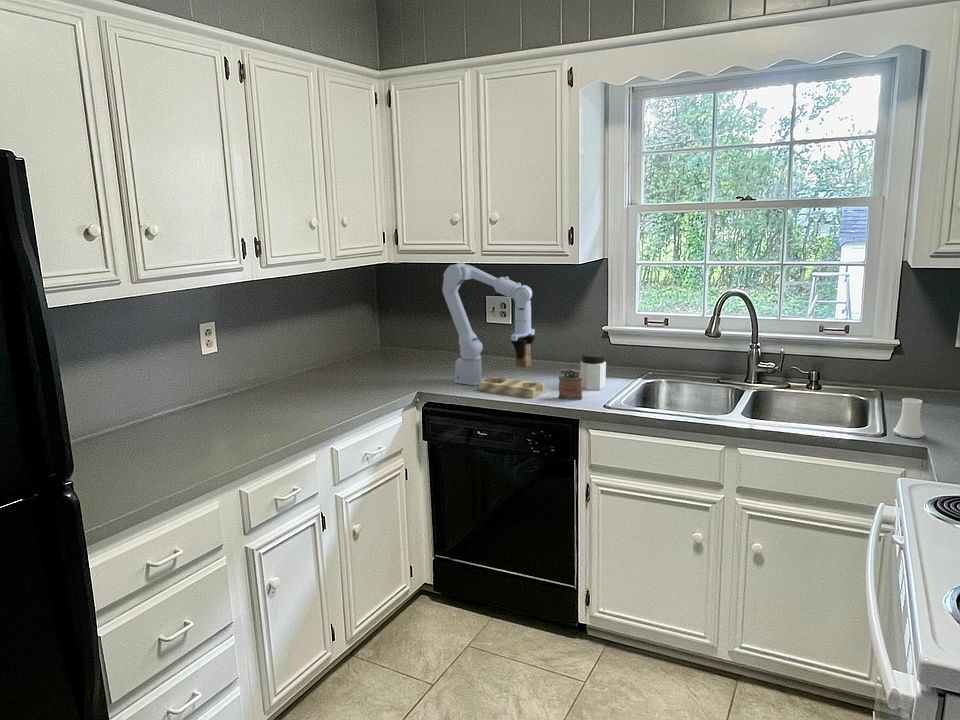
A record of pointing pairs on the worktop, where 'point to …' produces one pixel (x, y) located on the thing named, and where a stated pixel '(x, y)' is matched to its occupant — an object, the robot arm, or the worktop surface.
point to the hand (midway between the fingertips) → (523, 357)
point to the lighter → (570, 385)
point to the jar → (593, 370)
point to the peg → (525, 357)
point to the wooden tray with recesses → (512, 387)
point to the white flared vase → (910, 418)
